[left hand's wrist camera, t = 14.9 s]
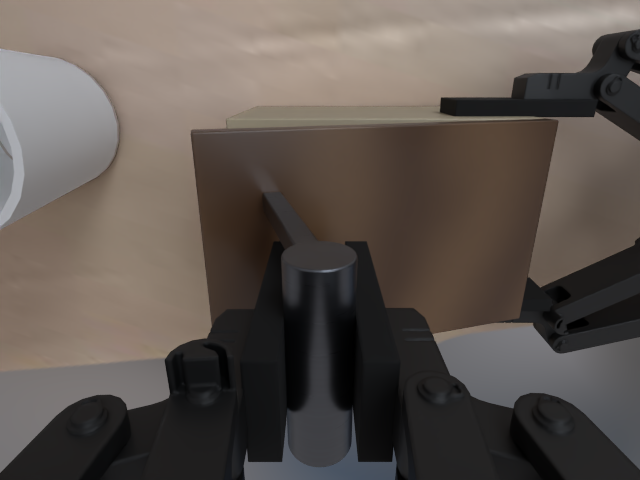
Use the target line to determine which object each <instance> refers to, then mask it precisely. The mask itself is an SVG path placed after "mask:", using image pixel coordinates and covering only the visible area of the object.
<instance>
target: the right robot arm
mask: <svg viewBox="0 0 640 480" xmlns="http://www.w3.org/2000/svg"><path fill="white" fill-rule="evenodd" d="M592 53H593V57H592V59H591V61H590V62H589V64H588V65H587V66H586V67H585V68H584V69H583V70H582V71H580V72H578V73H529V74H523V75H520V76H518V77H516V78H514V84H513V90H512V97H511V98H441V104H440V112H441V113H444V114H448V115H451V116H534V117H594V115H595V111H596V112H598V113H599V114H601V115H602V116H604V117H605V118H607V119H608V120H610V121H611V122H613V123H614V124H616V125H617V126H619V127H620V128H622V129H623V130H625V131H626V132H628V133H629V134H631V135H632V136H633V137H635V138H636V139H638V140H639V141H640V87H639V86H638V85H636V84H635V83H633V82H632V81H631V80H629V79H628V78H626V77H627V75H628V73H629V72H630V71H632V72H636V73H639V74H640V29H639V30H632V31H626V32H620V33H613V34H607V35H604V36H601V37H600V38H598V39H597V40H596V42H595V43H594V45H593V49H592ZM504 322H506V323H511V322H513V323H533V326H534V328H535V329H536V330H537V331H538V333H539V334H540V335H541V336H542V337H543V338H544V339H545V341H546V342H547V343H548V344H549V345H550V347H551V348H552V349H553V350H554V351H555V352H557V353H567V352H572V351H576V350H581V349H585V348H590V347H595V346H600V345H604V344H609V343H613V342H618V341H623V340H627V339H632V338H637V337H640V238H638V239H636V241H635V245H634V246H632V247H630V248H628V249H626V250H623V251H621V252H619V253H617V254H614V255H612V256H610V257H608V258H605V259H603V260H601V261H599V262H597V263H594V264H592V265H590V266H588V267H585V268H583V269H581V270H579V271H576V272H574V273H572V274H570V275H567V276H565V277H563V278H561V279H559V280H556V281H554V282H552V283H550V284H547V285H545V286H543V287H541V288H540V287H539V286H538V285H537V284H536V283H535V282H534V281H533V280H531V279H530V278H527V282H526V287H525V292H524V297H523V302H522V307H521V312H520V317H519V318H518V319H512V320H507V321H501V322H495V323H504Z"/></svg>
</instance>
